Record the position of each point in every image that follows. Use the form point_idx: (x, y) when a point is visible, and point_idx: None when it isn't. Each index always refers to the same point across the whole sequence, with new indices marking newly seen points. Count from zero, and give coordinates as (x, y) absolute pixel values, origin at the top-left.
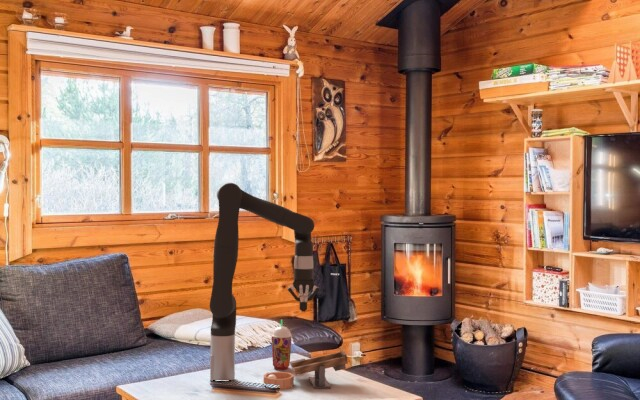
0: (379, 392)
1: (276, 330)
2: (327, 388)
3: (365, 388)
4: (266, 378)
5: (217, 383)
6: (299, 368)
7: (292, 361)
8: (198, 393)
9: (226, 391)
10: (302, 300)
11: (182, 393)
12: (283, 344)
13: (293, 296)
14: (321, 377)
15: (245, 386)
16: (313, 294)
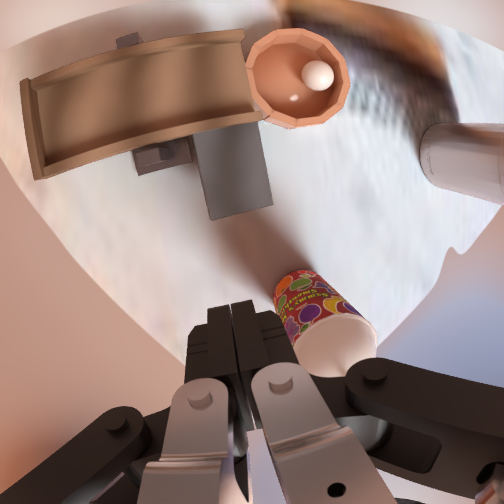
0: (3, 66)
1: (368, 347)
2: None
3: None
4: (335, 49)
5: (446, 113)
6: (221, 32)
7: (262, 203)
8: (458, 37)
9: (414, 36)
10: (264, 386)
11: (480, 46)
12: (317, 304)
13: (457, 381)
14: None
15: (382, 73)
16: (52, 487)
